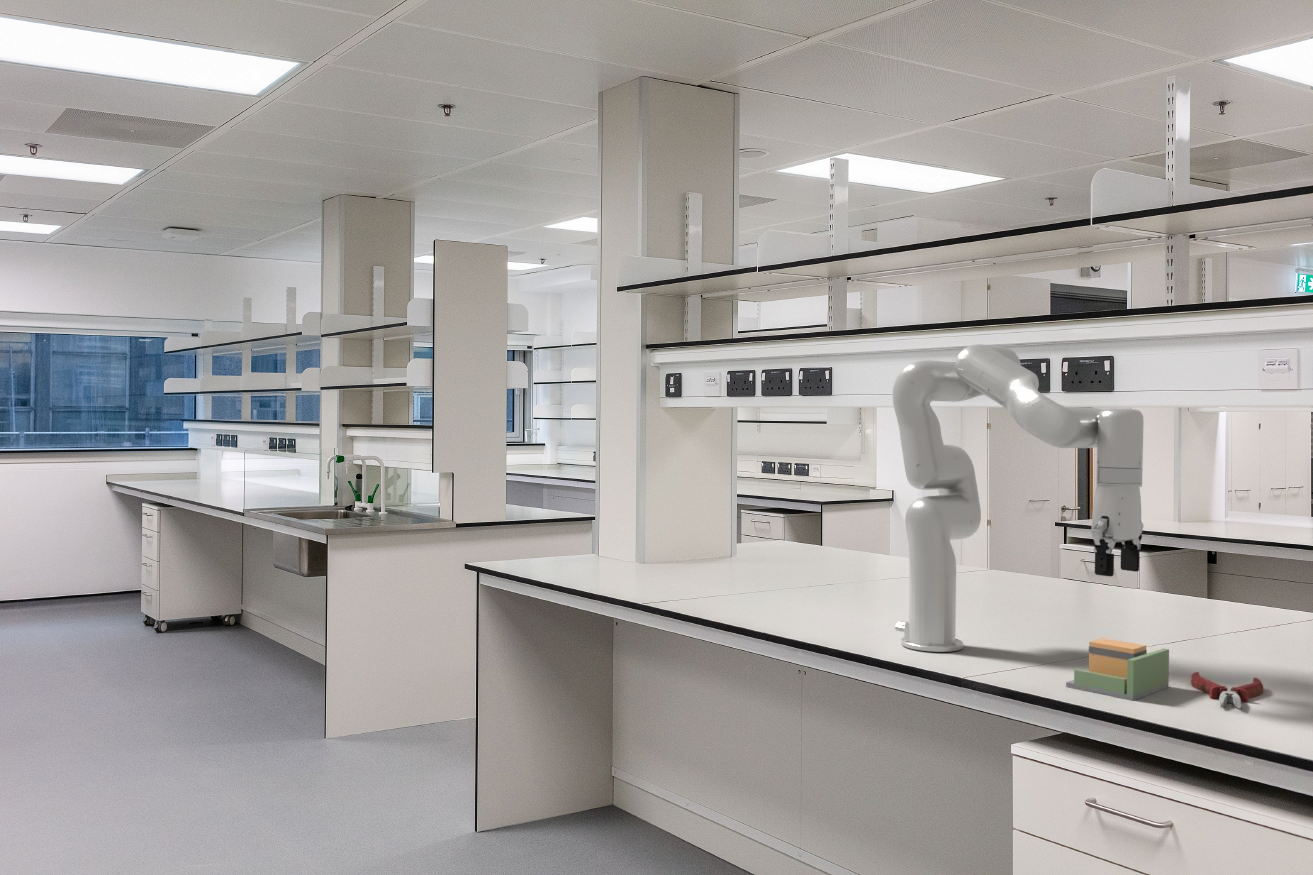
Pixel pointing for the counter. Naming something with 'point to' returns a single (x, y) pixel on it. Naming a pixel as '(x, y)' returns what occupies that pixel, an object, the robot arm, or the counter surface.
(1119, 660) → the chute block
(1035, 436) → the robot arm
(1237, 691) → the pliers
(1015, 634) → the counter surface
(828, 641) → the counter surface
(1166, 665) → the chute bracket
